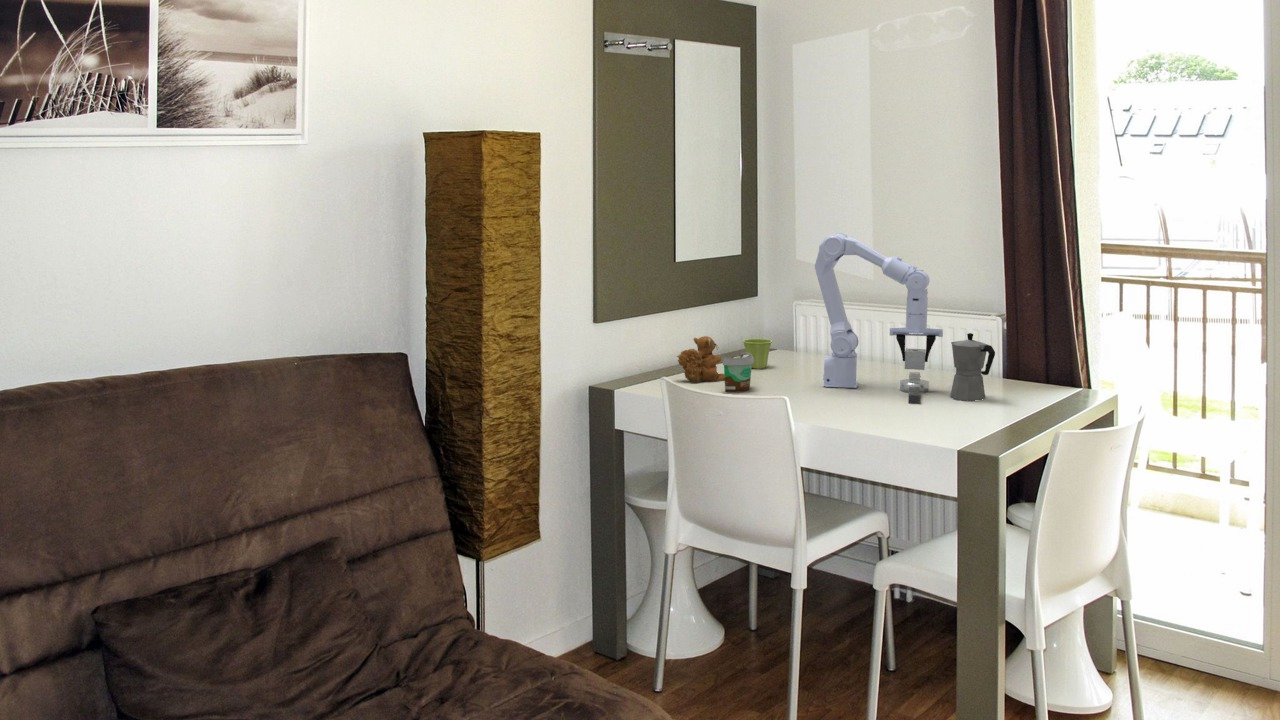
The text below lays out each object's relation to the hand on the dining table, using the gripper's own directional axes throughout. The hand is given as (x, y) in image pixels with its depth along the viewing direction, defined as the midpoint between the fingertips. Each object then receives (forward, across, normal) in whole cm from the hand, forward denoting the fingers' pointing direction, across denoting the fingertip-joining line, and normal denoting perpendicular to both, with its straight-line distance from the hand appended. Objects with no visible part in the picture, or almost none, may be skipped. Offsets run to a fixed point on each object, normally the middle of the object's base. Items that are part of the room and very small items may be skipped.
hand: (915, 361), depth 307 cm
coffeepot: (+9, +15, -9) cm, 19 cm away
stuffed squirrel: (+9, -62, +3) cm, 63 cm away
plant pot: (+9, -49, +28) cm, 57 cm away
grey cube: (+2, 0, 0) cm, 2 cm away
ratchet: (+8, 0, -7) cm, 11 cm away
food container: (+9, -48, -9) cm, 50 cm away
